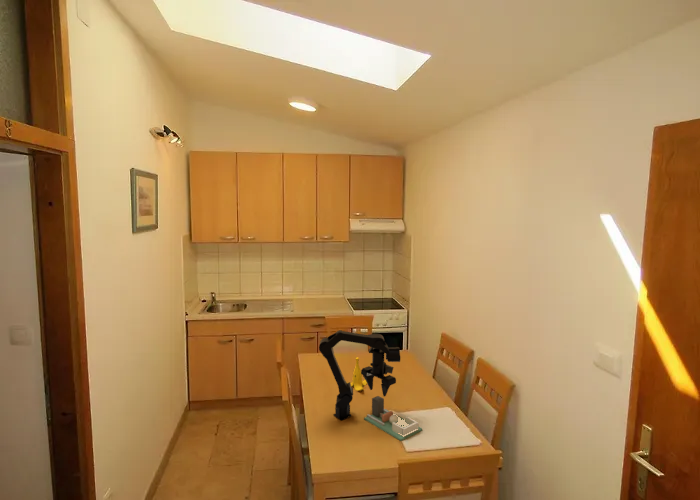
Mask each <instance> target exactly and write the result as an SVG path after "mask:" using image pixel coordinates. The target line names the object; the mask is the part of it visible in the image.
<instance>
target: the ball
mask: <svg viewBox="0 0 700 500" xmlns="http://www.w3.org/2000/svg"><path fill="white" fill-rule="evenodd" d="M396 415H397V414H396ZM396 415H391V416H390V418H389V421H390V423H393V422H394V423H397V422H398V417H397V416H396Z"/></svg>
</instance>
